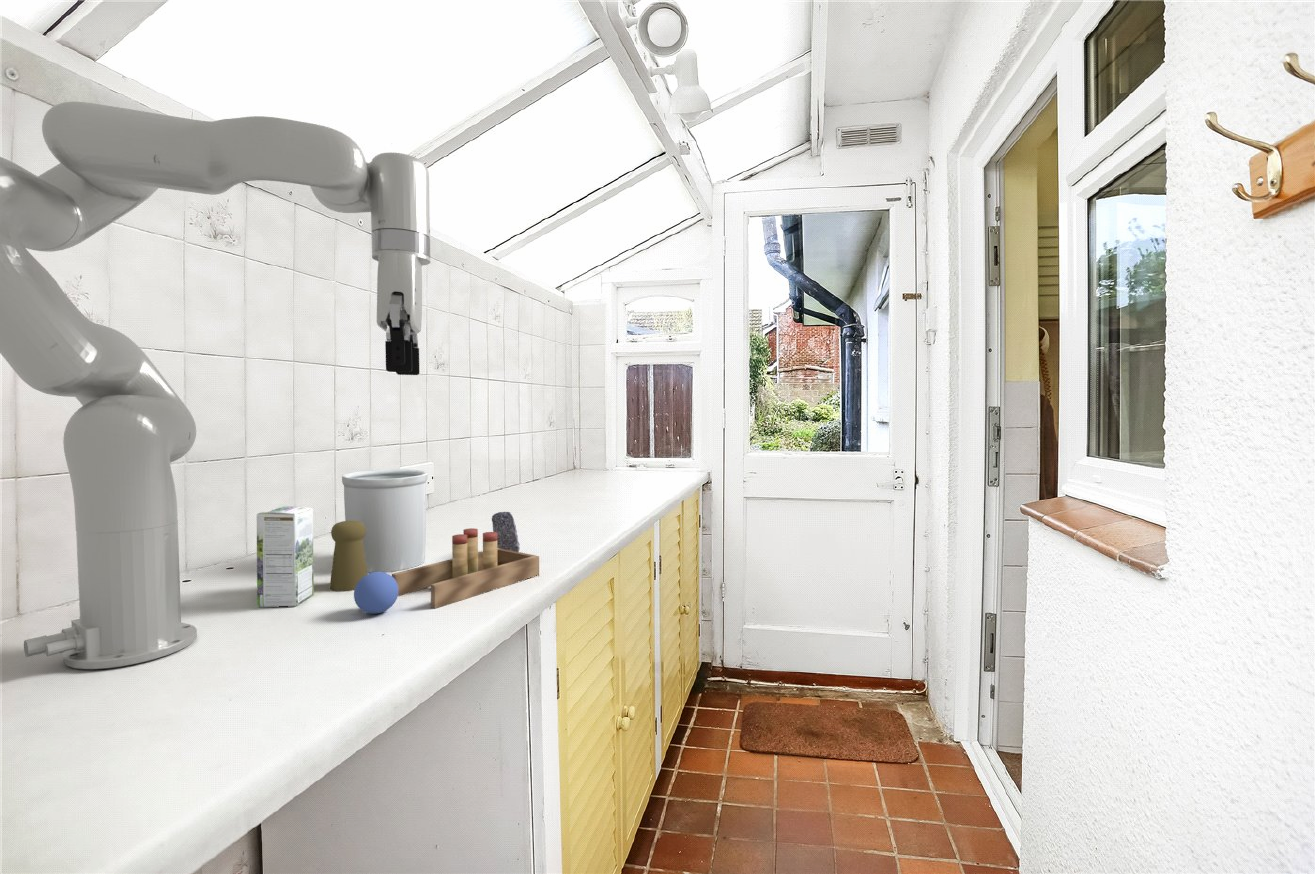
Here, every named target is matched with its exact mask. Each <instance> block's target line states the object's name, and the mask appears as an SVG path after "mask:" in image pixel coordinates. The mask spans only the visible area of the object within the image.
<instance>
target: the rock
mask: <svg viewBox="0 0 1315 874" xmlns="http://www.w3.org/2000/svg"><path fill="white" fill-rule="evenodd" d="M491 522H492V532H497V548H501V549H506V550H511V551H516V552H520V550H521V547H520V542H519V537H518V534H517V533H518V530H517V526H516V523H515V519H514V516H513V514H512V513H511V512H510V511H498V512H496V513H494V514H492V516H491Z"/></svg>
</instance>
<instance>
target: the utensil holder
mask: <svg viewBox="0 0 1315 874" xmlns="http://www.w3.org/2000/svg"><path fill="white" fill-rule="evenodd" d="M427 480H428V472H427V471H425V470H419V469H406V468H402V469H401V468H400V469H398V468H394V469H393V468H390V469H388V468H387V469H371V470H370V469H369V470H361V471H352V472H348V473H344V474H342V476H341V482H342V485H343V499H344V500H343V501H344V503H343V504H344V517H345V518H344V521H360V522H362V523H363V524H364V525H365V528H366V534H365V537H364V538H363V539H362V541H363V547H364V554H365V560H366V566H367V572H368V574H369V573H372V572H384V573H392V572H393V573H394V572H401V571H406V570H410V569H414V568H417V567H418V566H419V565H422V564H423V563H424V562H425V560H426V540H427V538H426V537H427V536H426V535H427V532H426V531H427V527H426V526H427V511H426V510H427V504H426V503H427V502H426V501H427Z"/></svg>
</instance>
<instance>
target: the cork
mask: <svg viewBox="0 0 1315 874" xmlns="http://www.w3.org/2000/svg"><path fill="white" fill-rule="evenodd" d="M330 532H331V533H330V535H331V539H332V540H333V541H334V542H335V543H334V550H333V557H332V567H331V571H330V572H331V574H330V582H329V590H330V591H333V592H350V591H354V590H355V587H356V585H357V583H358V582H359V580H360V579H361V578H363V577H364V576H365V575H367V574H369V573H368V572H367V566H366V560H365V554H364V547H363V541H362V539H363V538H364V537H365V534H366V528H365V525H364V524H363V523H362V522H360V521H345V520H343V521H340V522H336V523H335V524H333V526H332V528H331V530H330Z"/></svg>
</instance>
